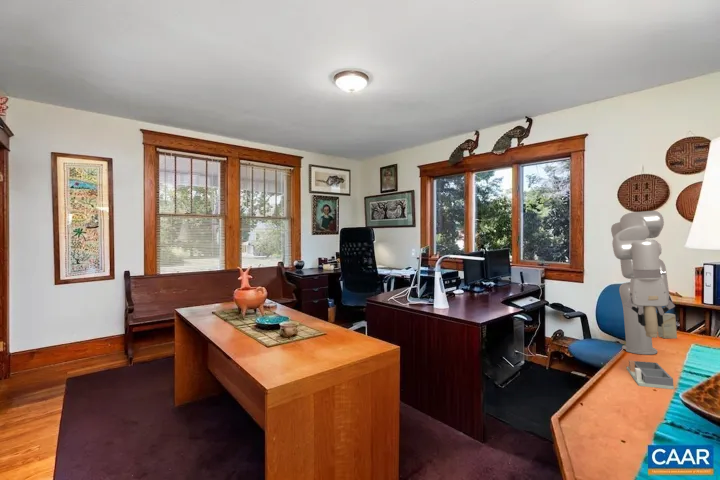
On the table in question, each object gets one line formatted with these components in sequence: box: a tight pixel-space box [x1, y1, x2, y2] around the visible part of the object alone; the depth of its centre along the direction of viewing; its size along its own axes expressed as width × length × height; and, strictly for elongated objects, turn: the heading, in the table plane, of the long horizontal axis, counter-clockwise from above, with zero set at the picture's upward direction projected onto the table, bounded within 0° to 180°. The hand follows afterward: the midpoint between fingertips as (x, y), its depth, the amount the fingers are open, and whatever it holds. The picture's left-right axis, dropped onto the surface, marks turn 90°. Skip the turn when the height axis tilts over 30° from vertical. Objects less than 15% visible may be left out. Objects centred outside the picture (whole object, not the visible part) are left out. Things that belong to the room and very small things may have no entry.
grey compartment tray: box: [626, 359, 675, 390], centre depth 127 cm, size 18×10×4 cm, turn 153°
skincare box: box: [657, 312, 678, 339], centre depth 177 cm, size 6×4×12 cm
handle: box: [643, 296, 659, 339], centre depth 124 cm, size 5×6×15 cm
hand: (650, 324), depth 124 cm, fingers closed on handle, 4 cm apart
